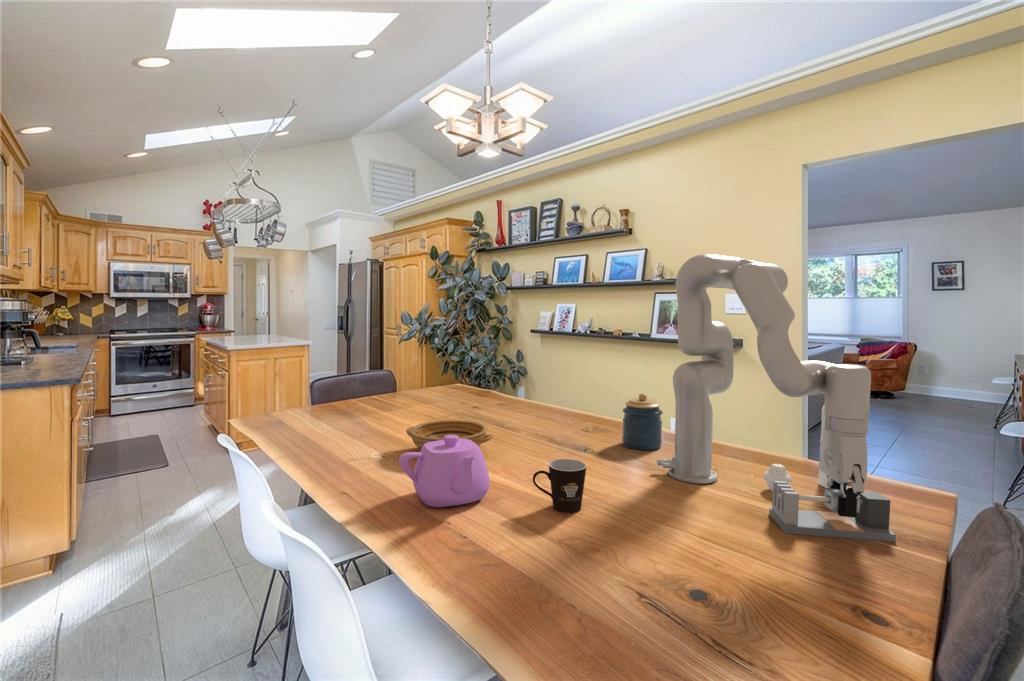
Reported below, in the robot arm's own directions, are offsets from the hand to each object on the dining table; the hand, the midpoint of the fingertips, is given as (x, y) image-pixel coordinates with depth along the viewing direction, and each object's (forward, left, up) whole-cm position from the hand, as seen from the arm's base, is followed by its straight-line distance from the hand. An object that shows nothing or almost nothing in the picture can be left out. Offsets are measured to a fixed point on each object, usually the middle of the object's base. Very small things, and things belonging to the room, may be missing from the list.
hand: (841, 510), depth 98 cm
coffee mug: (-58, 0, -4) cm, 58 cm away
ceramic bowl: (-96, +34, -4) cm, 102 cm away
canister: (-35, +55, -4) cm, 65 cm away
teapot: (-84, 0, -4) cm, 84 cm away
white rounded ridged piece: (-5, +20, -4) cm, 21 cm away
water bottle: (+11, +27, -4) cm, 29 cm away
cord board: (-2, 0, -4) cm, 4 cm away
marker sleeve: (0, 0, +1) cm, 1 cm away
